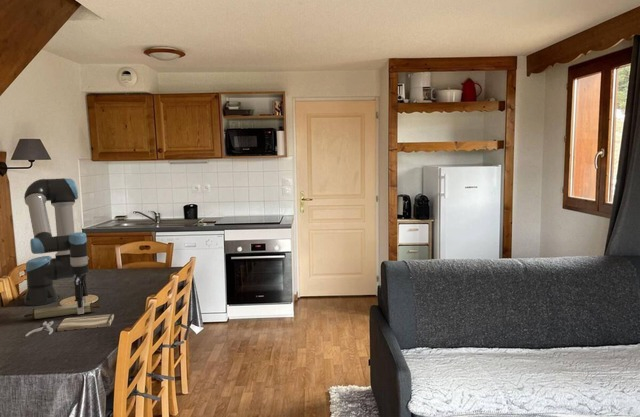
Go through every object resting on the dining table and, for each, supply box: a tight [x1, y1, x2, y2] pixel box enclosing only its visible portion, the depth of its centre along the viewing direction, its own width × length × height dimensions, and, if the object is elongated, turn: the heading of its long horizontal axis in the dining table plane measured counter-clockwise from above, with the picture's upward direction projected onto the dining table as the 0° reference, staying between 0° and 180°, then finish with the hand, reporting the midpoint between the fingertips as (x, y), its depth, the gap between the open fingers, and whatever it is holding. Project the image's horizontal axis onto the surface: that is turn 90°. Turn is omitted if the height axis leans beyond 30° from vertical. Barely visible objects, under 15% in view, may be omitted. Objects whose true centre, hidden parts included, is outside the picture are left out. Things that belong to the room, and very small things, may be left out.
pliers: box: [24, 320, 54, 338], centre depth 205 cm, size 10×2×15 cm
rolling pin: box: [24, 301, 101, 320], centre depth 222 cm, size 32×6×5 cm, turn 113°
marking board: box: [56, 313, 115, 332], centre depth 211 cm, size 13×21×2 cm, turn 106°
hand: (82, 311), depth 226 cm, fingers closed on rolling pin, 6 cm apart
